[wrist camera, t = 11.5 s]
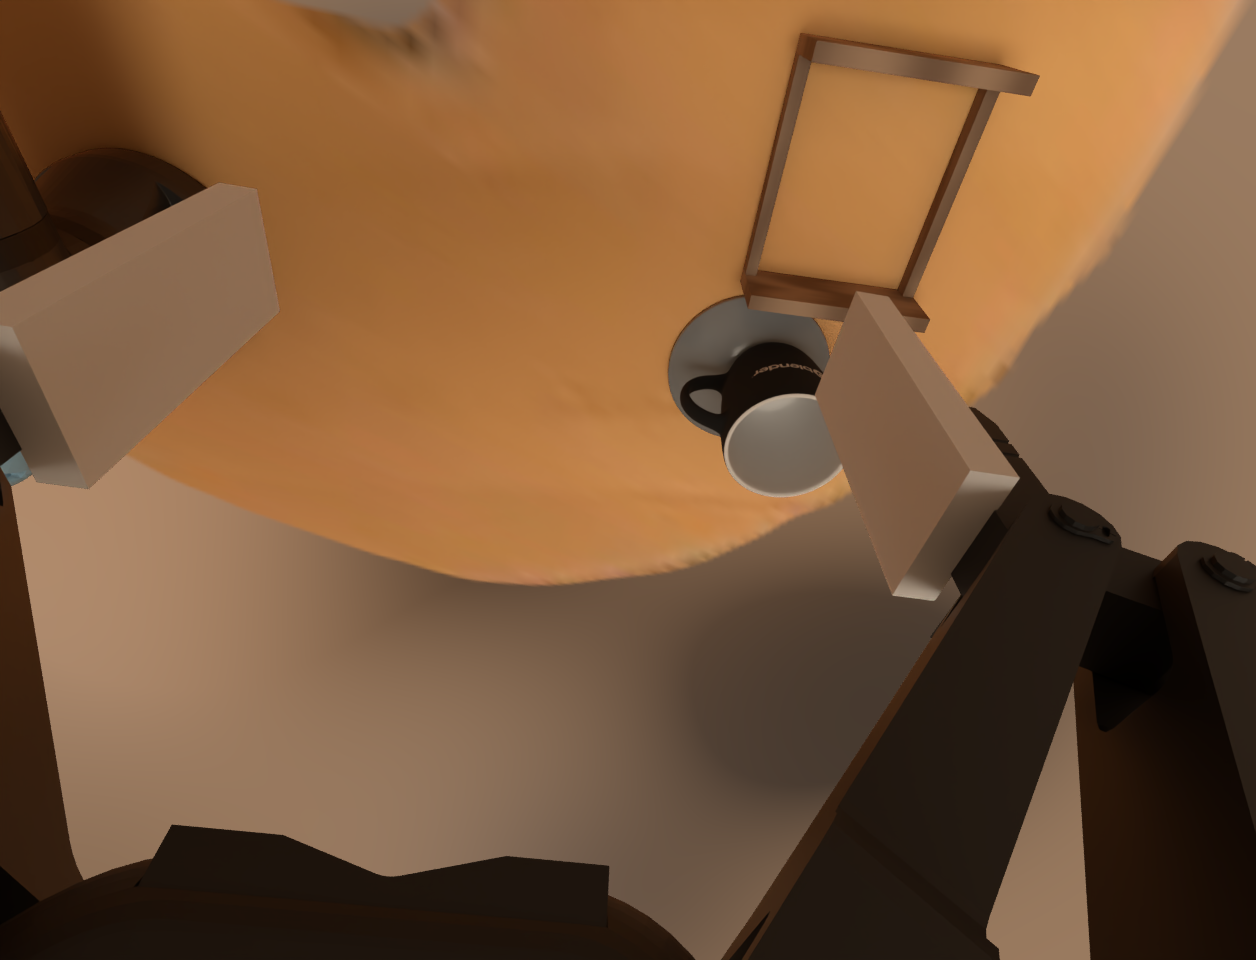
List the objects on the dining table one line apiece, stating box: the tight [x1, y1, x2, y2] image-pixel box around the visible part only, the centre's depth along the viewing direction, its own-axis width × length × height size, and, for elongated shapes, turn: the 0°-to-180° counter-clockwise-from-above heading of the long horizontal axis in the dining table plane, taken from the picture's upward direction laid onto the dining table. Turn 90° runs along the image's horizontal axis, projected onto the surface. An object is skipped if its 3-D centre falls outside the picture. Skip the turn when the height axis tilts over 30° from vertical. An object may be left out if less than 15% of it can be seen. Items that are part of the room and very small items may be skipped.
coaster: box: [668, 295, 830, 436], centre depth 53 cm, size 13×13×1 cm
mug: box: [680, 342, 843, 497], centre depth 49 cm, size 12×9×10 cm
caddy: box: [741, 33, 1040, 333], centre depth 42 cm, size 13×16×5 cm
